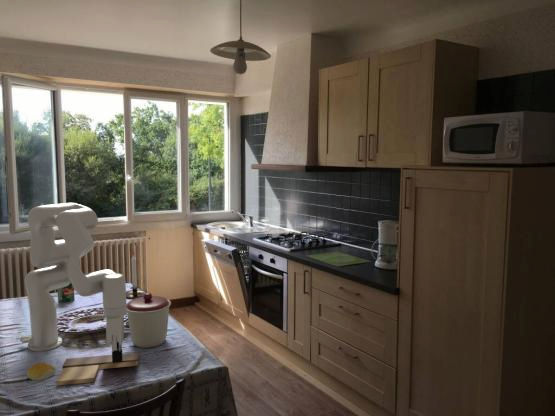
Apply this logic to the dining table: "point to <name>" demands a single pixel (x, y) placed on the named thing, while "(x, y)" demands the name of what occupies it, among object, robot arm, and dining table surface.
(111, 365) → the oak plank right
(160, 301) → the canister
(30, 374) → the bread roll
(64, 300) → the canned tomato
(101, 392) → the dining table surface
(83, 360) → the walnut floor strip
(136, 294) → the candlestick
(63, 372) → the oak plank left
